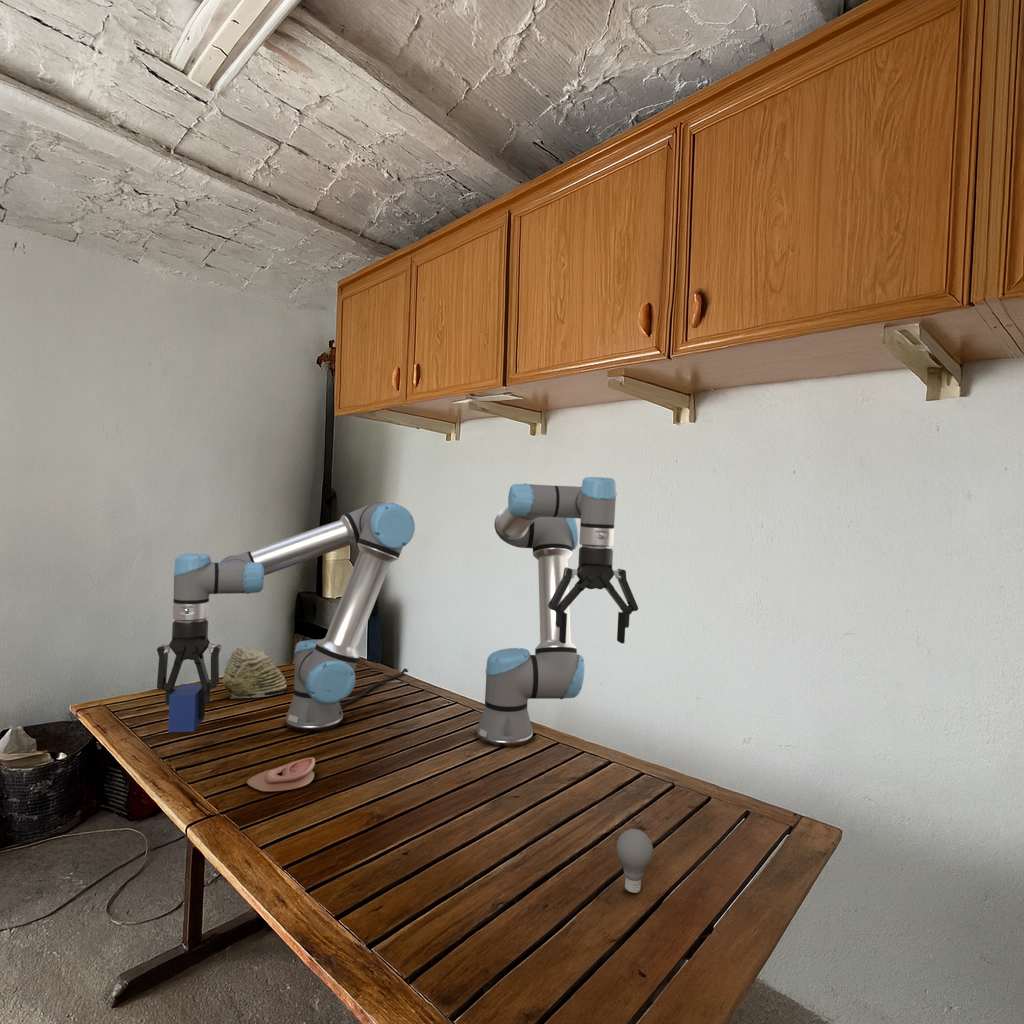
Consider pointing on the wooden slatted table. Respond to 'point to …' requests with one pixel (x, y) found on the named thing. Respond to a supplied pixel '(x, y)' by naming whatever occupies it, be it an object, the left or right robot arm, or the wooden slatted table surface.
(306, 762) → the anatomical model
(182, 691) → the block
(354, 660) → the left robot arm
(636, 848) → the light bulb
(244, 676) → the fossil
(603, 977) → the wooden slatted table surface
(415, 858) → the wooden slatted table surface
